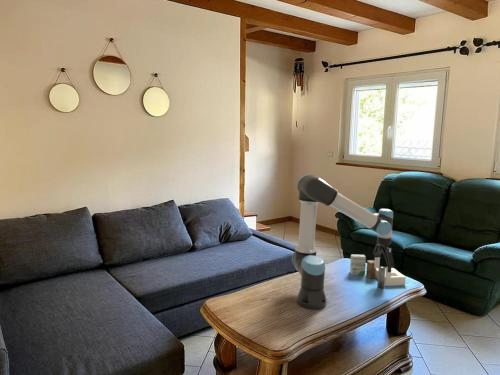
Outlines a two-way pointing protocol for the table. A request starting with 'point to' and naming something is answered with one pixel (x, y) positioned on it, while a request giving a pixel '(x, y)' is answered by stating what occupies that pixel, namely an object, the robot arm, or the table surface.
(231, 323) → the table surface
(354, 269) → the ink box
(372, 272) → the walnut square bar
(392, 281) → the socket block
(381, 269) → the round peg
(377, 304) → the table surface
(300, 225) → the robot arm
